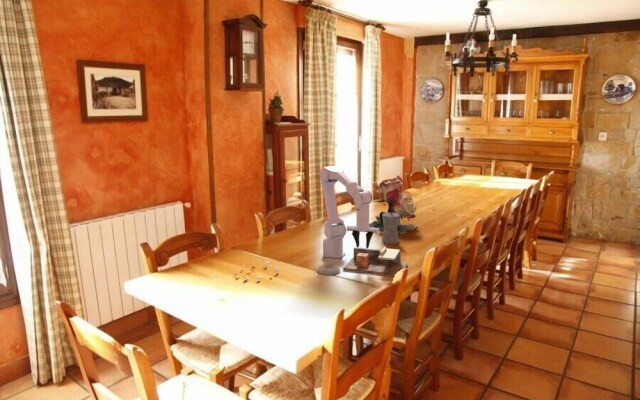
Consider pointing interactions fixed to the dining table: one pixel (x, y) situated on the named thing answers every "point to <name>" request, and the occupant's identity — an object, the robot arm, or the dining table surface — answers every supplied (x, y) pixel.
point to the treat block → (363, 260)
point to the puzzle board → (375, 263)
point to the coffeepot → (390, 227)
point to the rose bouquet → (396, 204)
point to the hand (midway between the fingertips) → (362, 247)
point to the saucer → (328, 270)
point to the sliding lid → (388, 254)
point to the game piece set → (259, 276)
